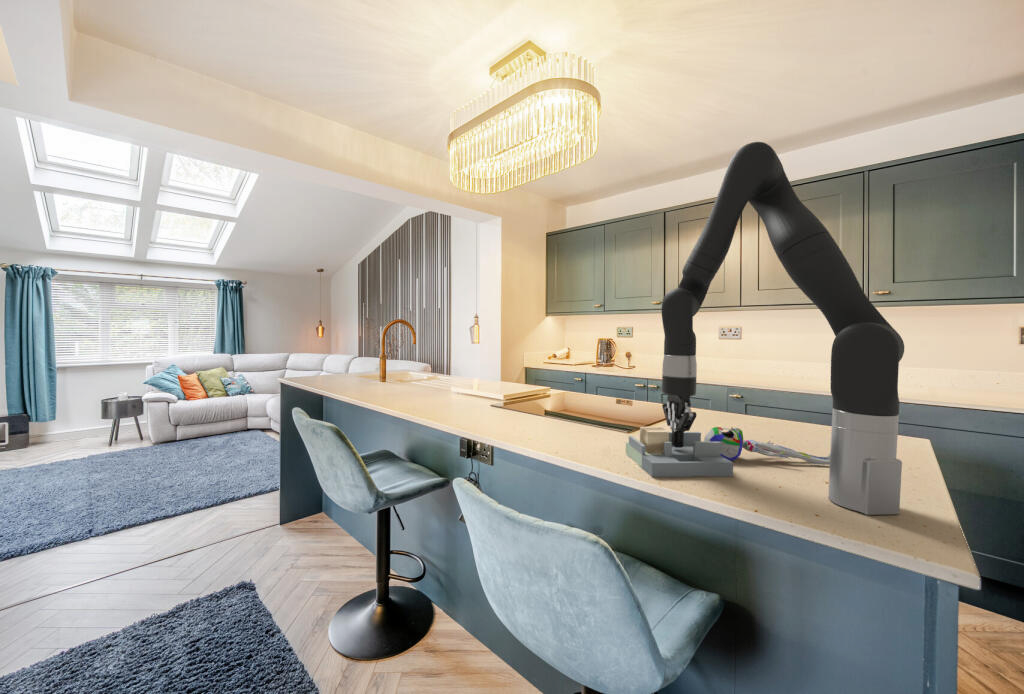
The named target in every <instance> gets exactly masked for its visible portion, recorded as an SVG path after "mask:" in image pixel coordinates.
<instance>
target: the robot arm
mask: <svg viewBox="0 0 1024 694" xmlns="http://www.w3.org/2000/svg"><path fill="white" fill-rule="evenodd" d="M722 179H723V180H722V182H721V185H720V188H719V191H718V193H717V196H716V198H715V201H714V204H713V205H712V209H711V211H710V214H709V216H708V218H707V221H706V223H705V225H704V226H703V229H702V231H701V233H700V234H699V237H698V239H697V241H696V243H695V245H694V247H693V249H692V251H691V252H690V253H689V256H688V258H687V260H686V262H685V264H684V266H683V268H682V270H681V271H682V278H681V280H680V282H679V284H678V287H677V288H673V289H671V290H669V291H668V292H666V293H665V295H664V296H663V298H662V301H661V320H662V327H663V332H664V333H663V334H664V341H663V342H664V343H663V360H662V375H661V376H662V377H661V382H662V383H661V392H662V393H663V394H664V395H667V398H666V401H667V402H666V403H662V405H661V407H662V410H663V414H664V417H665V421H666V424H667V427H670V431H671V432H672V446H674V447H676V448H682V447H683V443H684V432H690V429H691V428H692V425H693V424H694V422H695V419H696V418H697V412H695V411H692V409H691V407H692V403H691V397H692V396H695V395H696V394H697V373H698V372H697V368H698V365H697V336H696V333H695V332H694V329H693V326H694V322H693V321H694V318H693V317H694V316H695V315H697V313H698V312H699V310H700V308H701V307H702V306H703V303H704V302H705V298H706V296H707V293H708V291H709V289H710V286H711V284H712V281H713V280H714V278H715V277H716V275H717V273H718V272H719V270H720V268H721V266H722V264H723V262H724V260H725V258H726V256H727V254H728V252H729V250H730V247H731V245H732V241H733V239H734V236H735V235H734V234H735V232H736V230H737V226H738V224H739V219H740V218H741V216H742V214H743V211H744V209H745V207H746V205H747V203H749V204H750V206H751V207H752V208H753V209H754V210H755V212H756V213H757V214H758V215H759V218H761V220H762V222H763V224H764V227H765V230H766V232H767V235H768V238H769V241H770V244H771V246H772V247H773V251H774V254H776V256H777V258H778V260H779V262H780V264H781V265H782V267H783V268H784V270H785V271H786V273H787V275H788V276H789V278H790V279H791V280H792V281H793V283H795V285H796V286H797V287H798V288H799V289H800V291H801V292H802V293H803V294H804V295H805V296H806V297H807V298H808V299H809V300H810V301H811V302H812V303H813V305H815V306H816V307H817V308H818V310H819V311H820V312H821V313H822V315H823V316H824V318H825V319H826V321H827V323H828V324H829V327H830V328H831V330H832V332H833V334H834V336H835V338H834V339H833V343H832V347H831V353H830V395H831V397H832V416H831V430H830V431H831V432H830V434H831V436H830V453H829V454H830V465H829V474H828V496H827V497H828V499H829V501H831V502H832V503H834V504H836V505H838V506H841V507H843V508H846V509H849V510H853V511H856V512H858V513H859V512H860V513H862V514H863V515H867V516H869V515H871V516H872V515H900V506H901V492H902V491H901V489H902V469H903V468H902V467H903V462H902V460H901V459H899V458H897V451H898V435H899V434H898V431H899V420H900V419H899V418H900V415H899V414H900V399H899V389H898V388H899V370H900V369H899V367H900V362H901V361H902V358H903V356H904V354H905V343H904V340H903V337H902V336H901V335H900V334H899V333H898V331H897V330H896V329H895V328H894V327H893V326H892V325H891V324H890V323H889V322H888V320H887V319H886V318H885V317H884V316H883V315H882V314H881V312H880V311H879V310H878V309H877V308H876V306H875V305H874V304H873V303H872V301H871V300H870V299H869V297H868V296H867V295H866V294H865V292H864V290H863V288H862V287H861V284H860V282H859V281H858V277H857V276H856V274H855V273H854V270H853V269H852V267H851V265H850V264H849V261H848V259H846V257H845V255H844V253H843V251H842V250H841V248H840V247H839V244H838V243H837V242H836V241H835V238H834V237H833V236H832V235H831V233H830V232H829V230H828V229H827V228H826V227H825V225H824V224H823V223H822V221H820V219H819V218H818V217H817V216H816V215H815V214H814V213H813V212H812V211H811V210H810V209H809V208H808V207H807V206H806V205H805V204H804V203H803V202H802V200H800V198H799V197H798V195H797V194H796V192H795V190H794V188H793V186H792V185H791V182H790V181H789V178H788V176H787V174H786V171H785V170H784V166H783V164H782V161H781V159H780V158H779V156H778V154H777V153H776V151H775V150H774V148H772V146H771V145H770V144H767V143H765V142H763V141H754V142H750V143H747V144H744V145H743V146H742V147H740V148H739V149H738V150H737V151H736V152H735V153H734V154H733V156H732V157H731V159H730V161H729V163H728V165H727V168H726V170H725V173H724V176H723V178H722Z"/></svg>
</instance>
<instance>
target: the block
mask: <svg viewBox="0 0 1024 694" xmlns="http://www.w3.org/2000/svg"><path fill="white" fill-rule="evenodd" d="M669 432H670V431H669V430H667V429H665V428H663V427H662V426H640V427H639V442H641V443H642V444H643V445H645V446H646V448H645V452H646V453H663V446H664V442H669Z"/></svg>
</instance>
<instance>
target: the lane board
mask: <svg viewBox="0 0 1024 694" xmlns="http://www.w3.org/2000/svg"><path fill="white" fill-rule="evenodd" d="M645 448H646V446H645V445H643V444H642V443H641V442H640V440H638V439H637V438H636V437H634V436H633V435H628V441H625V454H626V455H627V457H629V458H630V457H631V458H632V459H633V460H632V459H631V458H630V459H631V460H632V461H633V462H635V463H636V465H638V466H639V467H640V468H641V469H642V470H643V471H645V472H646V473H647V475H649V477H651V478H672V477H673V478H675V477H676V478H678V477H679V478H683V477H684V478H686V477H689V478H690V477H691V478H692V476H708V477H734V462H733V461H729V460H728V459H726V458H724V457H722V456H721V442H703V441H702V432H700V431H685V432H684V443H683V447H682V448H676V447H674V446H672V431H669V442H664V446H663V453H646V452H645Z"/></svg>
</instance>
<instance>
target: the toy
mask: <svg viewBox="0 0 1024 694" xmlns="http://www.w3.org/2000/svg"><path fill="white" fill-rule="evenodd" d="M723 430H724V431H723ZM725 430H728V431H725ZM702 442H721V456H722V457H724V458H726V459H728V460H729V461H731V462H733V461H735V460H737V459H738V458H739V457H741V453H742V451H743V449H744V450H745V451H747V452H749V453H757V454H760V455H764V456H766V457H774V458H775V457H776V458H783V459H784V458H785V459H788V460H791V461H792V459H800V460H802V461H806V462H808V463H809V464H814V465H822V466H823V465H824V466H825V465H826V466H827V465H828V466H830V453H829V454H828V455H827V456H816V455H811V454H808V453H805V452H803V451H802V452H800V451H797V450H794V449H792V448H788V447H785V446H783V445H778V444H775V443H774V442H771V440H769V441H768V442H761V441H756V440H755V439H746V440H744V434H743V430H742V429H740V428H738V427H733V426H731V428H727V427H721V426H720V427H719V426H714V427H713V428H711V429H710V430H709V431H708V432H707V433H705V436H704V439H703V441H702ZM791 458H792V459H791Z"/></svg>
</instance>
